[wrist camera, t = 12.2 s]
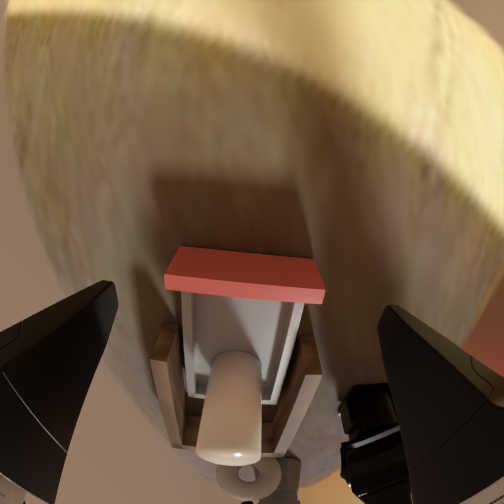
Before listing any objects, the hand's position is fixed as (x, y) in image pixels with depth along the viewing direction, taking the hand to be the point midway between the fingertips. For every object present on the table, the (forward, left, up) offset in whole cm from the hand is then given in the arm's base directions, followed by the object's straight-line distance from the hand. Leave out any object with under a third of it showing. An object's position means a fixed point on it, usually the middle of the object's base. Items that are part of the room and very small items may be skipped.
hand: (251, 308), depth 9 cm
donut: (-3, +39, -14) cm, 41 cm away
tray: (0, +13, -13) cm, 18 cm away
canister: (0, +17, -12) cm, 21 cm away
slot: (0, +22, -13) cm, 26 cm away
